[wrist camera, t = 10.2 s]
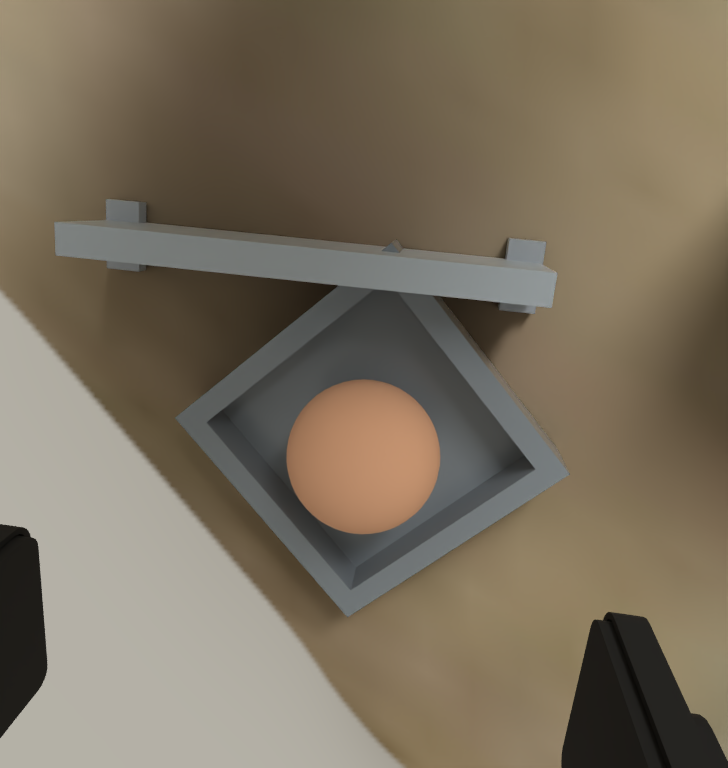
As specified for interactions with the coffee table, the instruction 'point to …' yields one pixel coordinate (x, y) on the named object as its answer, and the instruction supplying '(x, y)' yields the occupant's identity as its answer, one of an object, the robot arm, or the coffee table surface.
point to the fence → (310, 259)
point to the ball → (363, 456)
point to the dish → (405, 371)
